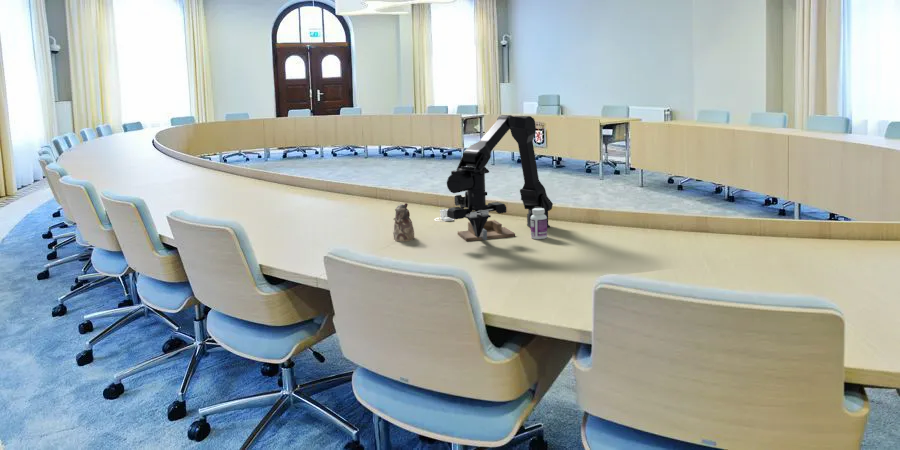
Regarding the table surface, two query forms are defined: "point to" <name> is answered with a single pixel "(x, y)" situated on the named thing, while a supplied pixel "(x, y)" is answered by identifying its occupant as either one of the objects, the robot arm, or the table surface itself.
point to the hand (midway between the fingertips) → (477, 236)
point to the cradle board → (492, 229)
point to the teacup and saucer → (444, 215)
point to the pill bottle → (538, 224)
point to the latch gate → (483, 234)
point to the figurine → (403, 224)
